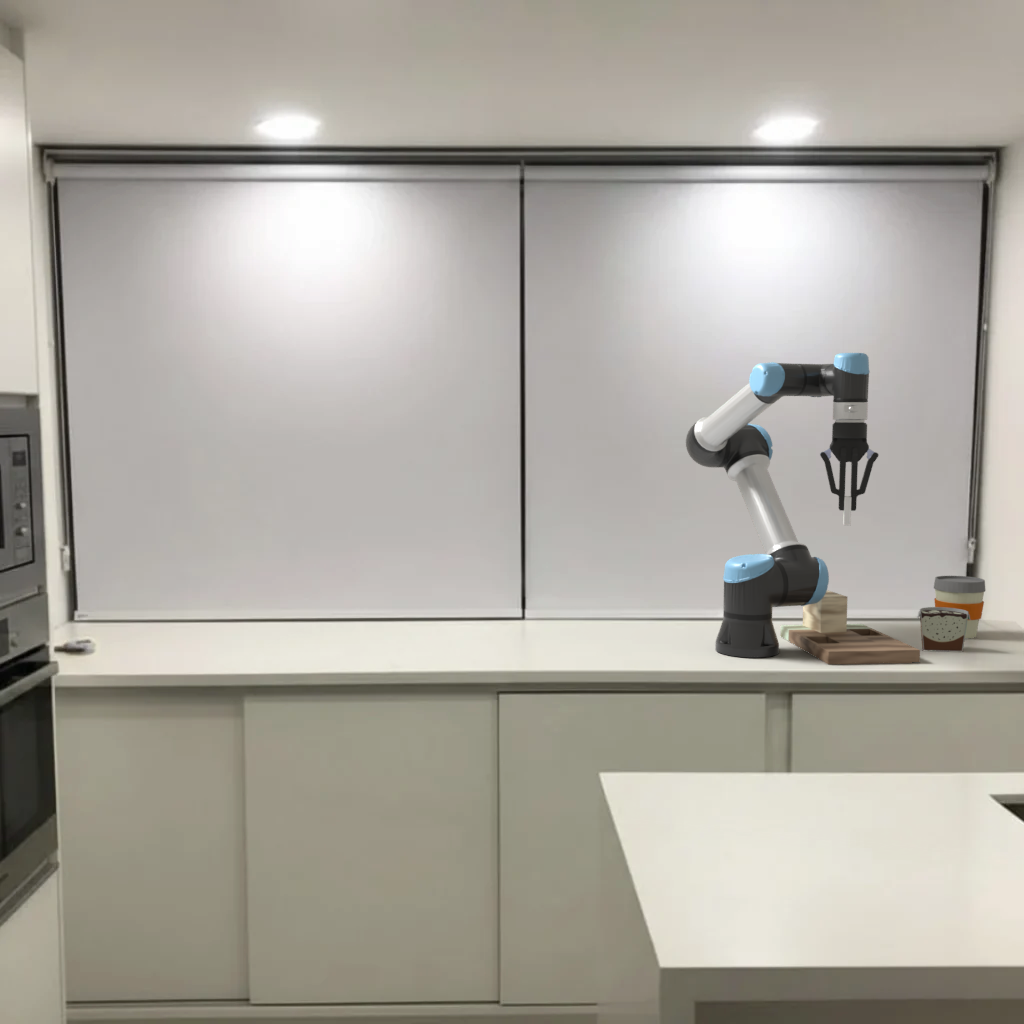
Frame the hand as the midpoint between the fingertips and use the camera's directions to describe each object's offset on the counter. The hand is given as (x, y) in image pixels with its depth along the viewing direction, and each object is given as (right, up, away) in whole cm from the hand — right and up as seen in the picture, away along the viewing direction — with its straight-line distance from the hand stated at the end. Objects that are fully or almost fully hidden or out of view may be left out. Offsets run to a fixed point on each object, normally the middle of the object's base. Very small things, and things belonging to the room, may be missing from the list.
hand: (846, 524), depth 241 cm
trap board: (+6, -31, +19) cm, 37 cm away
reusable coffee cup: (+41, -30, +36) cm, 62 cm away
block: (+4, -27, +29) cm, 40 cm away
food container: (+29, -31, +20) cm, 47 cm away
